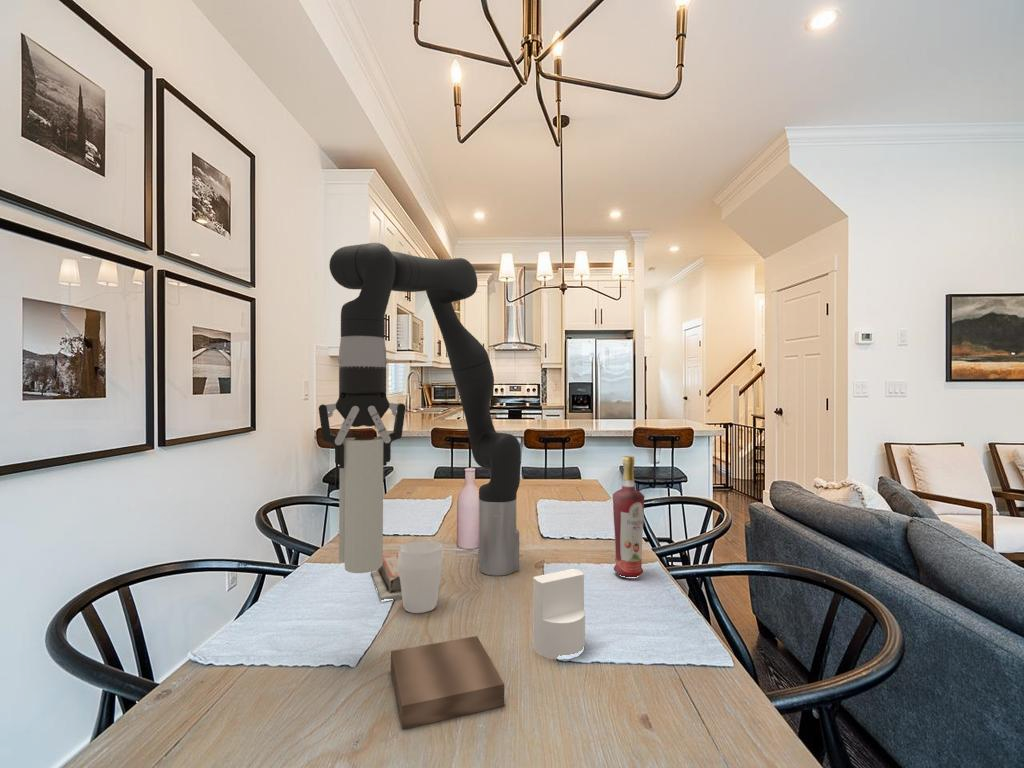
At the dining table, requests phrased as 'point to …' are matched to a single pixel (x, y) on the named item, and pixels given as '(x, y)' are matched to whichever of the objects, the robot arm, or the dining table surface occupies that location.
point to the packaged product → (388, 578)
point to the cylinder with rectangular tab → (558, 613)
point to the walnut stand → (444, 681)
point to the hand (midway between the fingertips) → (362, 466)
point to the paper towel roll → (361, 505)
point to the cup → (420, 574)
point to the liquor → (628, 524)
